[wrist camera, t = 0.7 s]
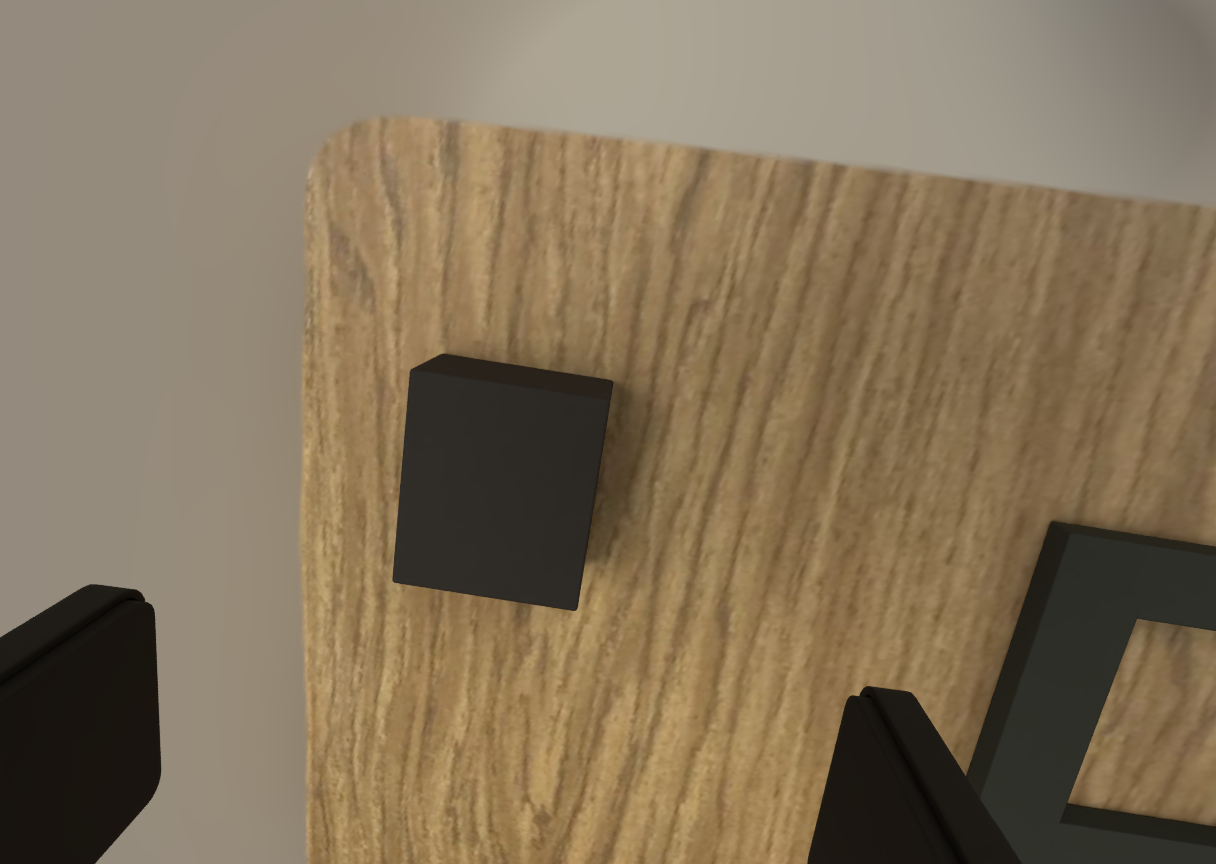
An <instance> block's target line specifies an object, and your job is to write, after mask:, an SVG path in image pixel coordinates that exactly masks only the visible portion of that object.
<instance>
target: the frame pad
mask: <svg viewBox="0 0 1216 864" xmlns="http://www.w3.org/2000/svg"><path fill="white" fill-rule="evenodd" d="M1136 619H1143V620H1149V621H1156V622H1162V623H1169V624H1175V625H1181V626H1188V627H1194V628H1200V629H1207V630H1213V631H1216V547H1213V546H1206V545H1200V544H1194V543H1187V542H1181V541H1175V540H1168V539H1162V538H1156V537H1149V536H1143V535H1137V534H1131V533H1124V532H1118V531H1112V530H1105V529H1099V528H1093V527H1086V526H1080V525H1074V524H1067V523H1061V522H1055V521H1053V522H1051V524H1050V527H1049V530H1048V533H1047V536H1046V539H1045V542H1044V545H1043V548H1042V551H1041V554H1040V557H1039V560H1038V563H1037V566H1036V569H1035V572H1034V575H1033V578H1032V581H1031V584H1030V587H1029V590H1028V593H1027V596H1026V599H1025V602H1024V605H1023V608H1022V611H1021V614H1020V617H1019V620H1018V623H1017V626H1016V629H1015V632H1014V635H1013V638H1012V641H1011V644H1010V647H1009V650H1008V653H1007V656H1006V659H1005V662H1004V665H1003V668H1002V671H1001V674H1000V677H999V680H998V683H997V686H996V689H995V692H994V695H993V698H992V701H991V704H990V708H989V711H988V714H987V717H986V720H985V723H984V726H983V729H982V732H981V735H980V738H979V741H978V744H977V747H976V750H975V753H974V756H973V759H972V762H971V765H970V768H969V771H968V774H967V779H968V781H969V782H970V784H971V785H972V787H973V788H974V790H975V792H976V793H977V795H978V796H979V798H980V799H981V801H982V803H983V804H984V806H985V807H986V809H987V810H988V812H989V814H990V815H991V817H992V818H993V820H994V821H995V822H996V823H997V825H998V827H999V828H1000V830H1001V831H1002V833H1003V834H1004V836H1005V838H1006V839H1007V841H1008V842H1009V844H1010V845H1011V847H1012V848H1013V850H1014V852H1015V853H1016V855H1017V856H1018V858H1019V859H1020V861H1021V863H1022V864H1216V827H1210V826H1204V825H1197V824H1191V823H1184V822H1178V821H1172V820H1165V819H1159V818H1153V817H1146V816H1140V815H1133V814H1127V813H1121V812H1114V811H1108V810H1102V809H1095V808H1089V807H1082V806H1076V805H1070V804H1067V802H1068V799H1069V796H1070V794H1071V791H1072V788H1073V786H1074V783H1075V781H1076V778H1077V775H1078V773H1079V770H1080V767H1081V765H1082V762H1083V759H1084V757H1085V754H1086V751H1087V749H1088V746H1089V744H1090V741H1091V738H1092V736H1093V733H1094V730H1095V728H1096V725H1097V722H1098V720H1099V717H1100V715H1101V712H1102V709H1103V707H1104V704H1105V701H1106V699H1107V696H1108V693H1109V691H1110V688H1111V685H1112V683H1113V680H1114V678H1115V675H1116V672H1117V670H1118V667H1119V664H1120V662H1121V659H1122V656H1123V654H1124V651H1125V649H1126V646H1127V643H1128V641H1129V638H1130V635H1131V633H1132V630H1133V627H1134V625H1135V622H1136Z"/></svg>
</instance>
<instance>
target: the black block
mask: <svg viewBox="0 0 1216 864" xmlns="http://www.w3.org/2000/svg"><path fill="white" fill-rule="evenodd" d="M612 387H613V381H611V380H606V379H600V378H593V377H587V376H581V375H574V374H568V373H562V372H555V371H549V370H543V369H536V368H530V367H524V366H518V365H511V364H505V363H499V362H492V361H486V360H480V359H473V358H467V357H461V356H454V355H448V354H440V355H438V356H436V357H434V358H433V359H431V360H429V361H427V362H425V363H423V364H421V365H419V366H417V367H415V368H413V369H411V371H410V377H409V389H408V401H407V413H406V425H405V437H404V449H403V461H402V472H401V484H400V496H399V508H398V520H397V532H396V544H395V555H394V567H393V582H394V583H400V584H406V585H413V586H419V587H425V588H432V589H438V590H444V591H451V592H457V593H463V594H470V595H476V596H482V597H489V598H495V599H501V600H508V601H514V602H521V603H527V604H533V605H540V606H546V607H552V608H559V609H565V610H571V611H576V610H577V608H578V602H579V596H580V590H581V583H582V577H583V571H584V565H585V558H586V552H587V546H588V539H589V533H590V527H591V520H592V514H593V508H594V501H595V495H596V489H597V482H598V476H599V470H600V463H601V457H602V450H603V444H604V438H605V431H606V425H607V419H608V412H609V406H610V400H611V393H612Z"/></svg>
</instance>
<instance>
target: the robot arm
mask: <svg viewBox="0 0 1216 864" xmlns="http://www.w3.org/2000/svg"><path fill="white" fill-rule="evenodd" d="M157 680H158V678H157V653H156V629H155V612H154V608H153V607H152V605H151V604H149V603H148V602H145V598H144V597H143V595H142V593H141V592H139V591H138V590H135V589H126V588H119V587H112V586H104V585H96V584H95V585H94V584H90V585H88V586H85V587H83V588H81V589H80V590H78V591H76V592H74V593H73V594H71V595H69V596H68V597H66V598H64V599H63V600H61V601H60V602H58V603H56V604H55V605H53V606H52V607H50V608H48V609H46V610H45V611H43V612H41V613H40V614H38V615H36V616H35V617H33V618H31V619H30V620H28V621H27V622H25V623H24V624H22V625H20V626H18V627H17V628H15V629H13V630H12V631H10V632H8V633H7V634H5V635H3V636H2V637H0V864H95V863H96V862H97V860H99V858H100V857H101V856H102V855H103V854H104V852H106V850H107V849H108V848H109V847H110V846H111V845H112V844H113V842H114V841H115V840H116V839H117V838H118V837H119V836H120V834H121V833H122V832H123V831H124V830H125V829H126V828H127V827H128V826H129V824H130V823H131V822H132V821H133V820H134V819H135V818H136V816H137V815H138V814H139V813H140V812H141V811H142V810H143V809H144V807H145V806H146V805H147V804H148V803H149V801H150V800H151V799H152V797H153V795H154V793H155V791H156V789H157V787H158V784H159V780H160V776H161V752H160V727H159V704H158V681H157ZM808 864H1022V863H1021V861H1020V859H1019V858H1018V856H1017V855H1016V853H1015V852H1014V850H1013V848H1012V847H1011V845H1010V844H1009V842H1008V841H1007V839H1006V838H1005V836H1004V834H1003V833H1002V831H1001V830H1000V828H999V827H998V825H997V823H996V822H995V821H994V820H993V818H992V817H991V815H990V814H989V812H988V810H987V809H986V807H985V806H984V804H983V803H982V801H981V799H980V798H979V796H978V795H977V793H976V792H975V790H974V788H973V787H972V785H971V784H970V782H969V781H968V779H967V777H966V776H965V774H964V773H963V771H962V770H961V768H960V766H959V765H958V763H957V762H956V760H955V759H954V757H953V755H952V754H951V752H950V751H949V749H948V748H947V746H946V744H945V743H944V741H943V740H942V738H941V737H940V735H939V733H938V732H937V730H936V729H935V727H934V726H933V724H932V722H931V721H930V719H929V718H928V716H927V714H926V713H925V711H924V710H923V708H922V707H921V705H920V703H919V702H918V700H917V699H916V697H915V696H914V695H913V694H912V693H911V692H908V691H901V690H893V689H886V688H878V687H871V686H867V687H865V688H863V690H862V691H861V693H860V696H853V695H852V696H850V697H849V698H848V699H847V701H846V704H845V708H844V712H843V716H842V720H841V724H840V728H839V733H838V737H837V741H836V745H835V749H834V753H833V757H832V761H831V766H830V770H829V774H828V778H827V782H826V786H825V790H824V794H823V798H822V803H821V807H820V811H819V815H818V819H817V823H816V827H815V831H814V836H813V840H812V844H811V848H810V852H809V857H808Z"/></svg>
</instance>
